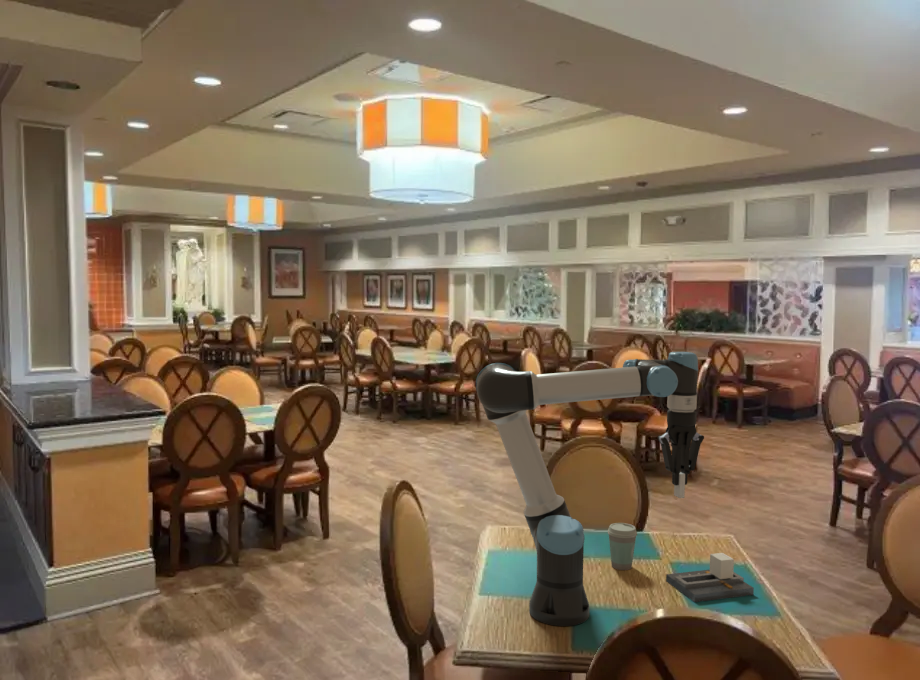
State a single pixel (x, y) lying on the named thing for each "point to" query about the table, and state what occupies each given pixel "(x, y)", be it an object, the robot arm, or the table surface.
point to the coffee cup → (622, 545)
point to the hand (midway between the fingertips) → (679, 496)
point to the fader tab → (721, 566)
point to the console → (708, 585)
